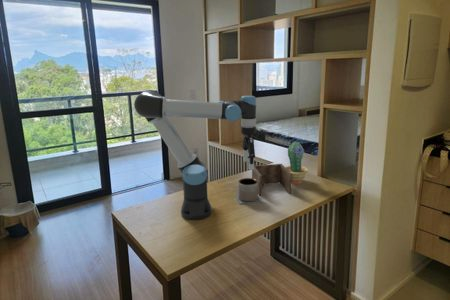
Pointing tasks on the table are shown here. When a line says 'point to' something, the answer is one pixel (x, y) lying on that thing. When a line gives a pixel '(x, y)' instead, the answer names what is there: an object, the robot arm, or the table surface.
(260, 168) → the wooden cubby shelf
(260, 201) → the mat
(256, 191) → the planter
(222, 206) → the table surface
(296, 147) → the potted cactus
